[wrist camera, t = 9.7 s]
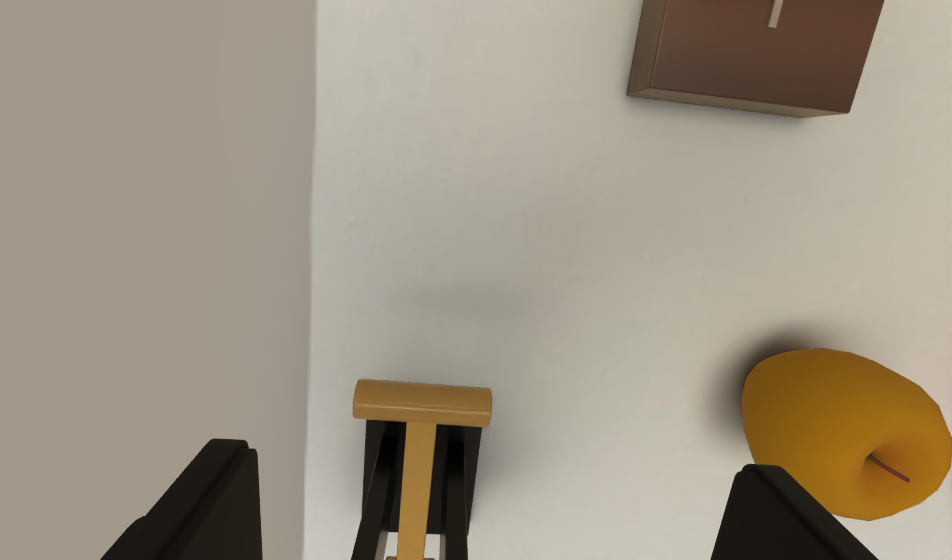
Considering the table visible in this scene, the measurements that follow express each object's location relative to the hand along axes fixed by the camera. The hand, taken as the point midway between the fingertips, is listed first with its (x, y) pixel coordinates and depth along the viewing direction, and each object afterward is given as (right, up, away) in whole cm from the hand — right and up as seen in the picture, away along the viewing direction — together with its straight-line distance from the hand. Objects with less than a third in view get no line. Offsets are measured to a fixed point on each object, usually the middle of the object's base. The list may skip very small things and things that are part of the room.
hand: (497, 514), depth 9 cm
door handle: (-3, -5, +11) cm, 12 cm away
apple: (+19, -2, +20) cm, 28 cm away
